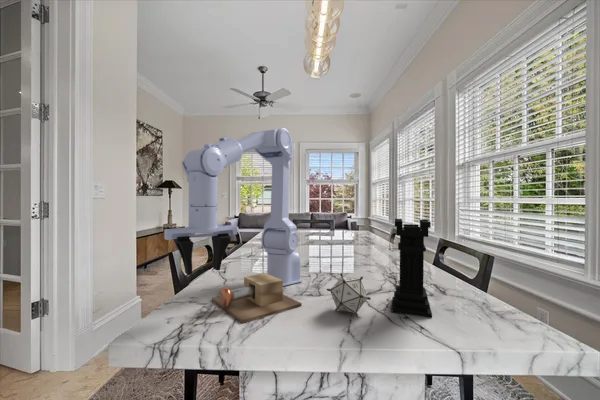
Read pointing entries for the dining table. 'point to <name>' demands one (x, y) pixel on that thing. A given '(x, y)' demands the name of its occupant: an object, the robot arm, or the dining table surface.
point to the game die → (348, 294)
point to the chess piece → (411, 270)
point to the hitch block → (260, 299)
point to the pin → (235, 294)
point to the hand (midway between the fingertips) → (203, 271)
